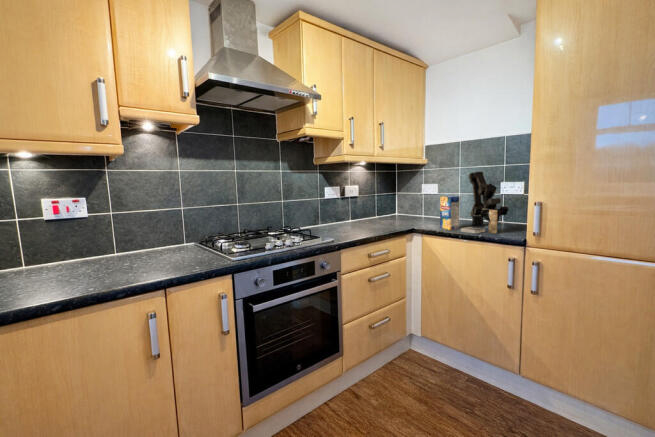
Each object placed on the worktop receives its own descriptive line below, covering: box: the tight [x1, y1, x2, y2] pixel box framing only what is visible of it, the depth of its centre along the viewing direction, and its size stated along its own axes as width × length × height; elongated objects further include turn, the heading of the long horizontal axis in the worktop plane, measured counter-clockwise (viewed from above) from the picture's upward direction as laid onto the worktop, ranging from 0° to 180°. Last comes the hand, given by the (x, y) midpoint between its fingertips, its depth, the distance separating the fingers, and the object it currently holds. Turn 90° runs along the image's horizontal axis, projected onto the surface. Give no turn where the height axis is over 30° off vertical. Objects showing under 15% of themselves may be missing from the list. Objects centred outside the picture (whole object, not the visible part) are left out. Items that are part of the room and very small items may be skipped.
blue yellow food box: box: [439, 195, 461, 231], centre depth 206 cm, size 7×11×22 cm, turn 16°
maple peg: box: [488, 210, 498, 234], centre depth 186 cm, size 4×4×14 cm
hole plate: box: [460, 226, 486, 234], centre depth 193 cm, size 10×10×2 cm
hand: (493, 221), depth 185 cm, fingers closed on maple peg, 4 cm apart
